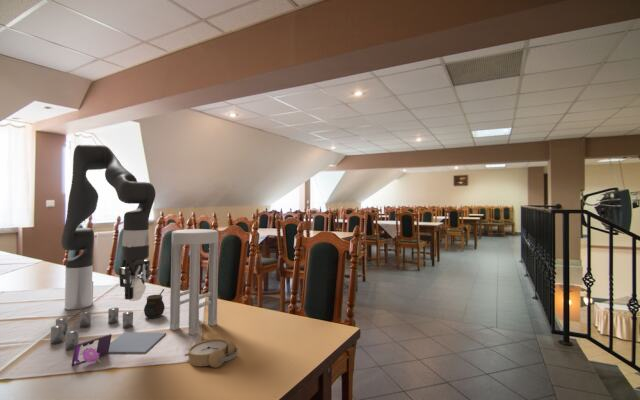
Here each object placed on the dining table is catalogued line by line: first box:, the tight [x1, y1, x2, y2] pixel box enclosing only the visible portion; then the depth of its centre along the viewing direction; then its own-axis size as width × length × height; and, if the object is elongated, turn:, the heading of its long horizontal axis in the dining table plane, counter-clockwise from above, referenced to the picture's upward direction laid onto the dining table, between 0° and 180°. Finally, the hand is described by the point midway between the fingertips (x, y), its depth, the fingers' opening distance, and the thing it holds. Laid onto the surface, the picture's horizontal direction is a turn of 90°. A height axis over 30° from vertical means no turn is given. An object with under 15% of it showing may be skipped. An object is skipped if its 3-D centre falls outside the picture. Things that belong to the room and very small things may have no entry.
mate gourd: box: [143, 288, 166, 319], centre depth 127 cm, size 7×8×10 cm
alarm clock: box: [184, 338, 239, 369], centre depth 94 cm, size 11×5×15 cm
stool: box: [169, 228, 220, 336], centre depth 118 cm, size 16×16×35 cm
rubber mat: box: [108, 332, 167, 354], centre depth 103 cm, size 14×14×1 cm
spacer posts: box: [50, 307, 134, 351], centre depth 110 cm, size 24×22×5 cm
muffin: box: [123, 278, 147, 302], centre depth 104 cm, size 6×6×7 cm
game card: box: [71, 333, 112, 367], centre depth 91 cm, size 7×5×9 cm
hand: (134, 295), depth 104 cm, fingers closed on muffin, 6 cm apart
